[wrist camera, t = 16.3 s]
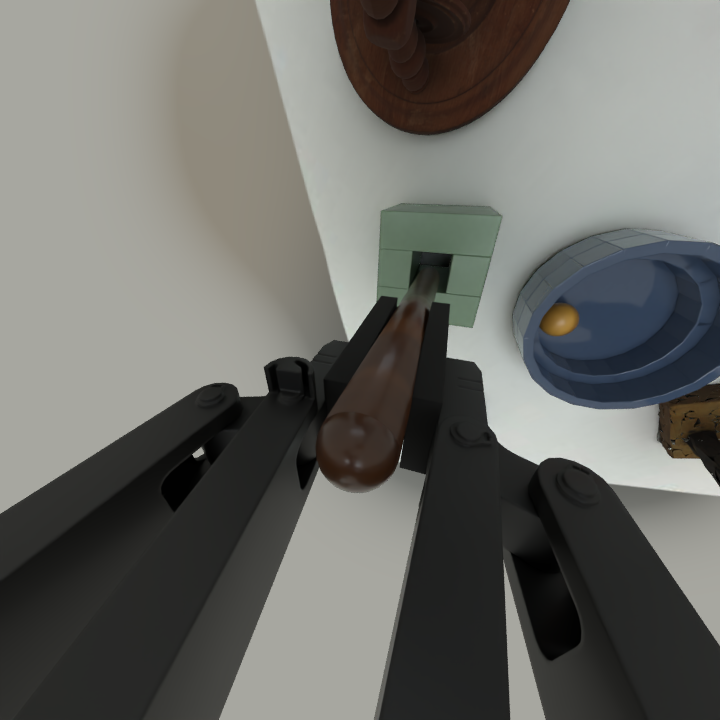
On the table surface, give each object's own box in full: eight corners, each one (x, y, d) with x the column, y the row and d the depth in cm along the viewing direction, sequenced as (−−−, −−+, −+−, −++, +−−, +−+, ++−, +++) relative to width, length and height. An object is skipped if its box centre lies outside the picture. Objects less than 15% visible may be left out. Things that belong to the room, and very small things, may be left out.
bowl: (541, 223, 23) (563, 234, 18) (751, 233, 20) (845, 249, 15) (495, 358, 30) (502, 391, 26) (641, 382, 27) (680, 424, 22)
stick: (421, 264, 21) (300, 430, 4) (442, 267, 21) (399, 461, 4) (416, 284, 22) (299, 495, 5) (437, 288, 21) (383, 525, 5)
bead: (534, 301, 25) (559, 298, 26) (527, 332, 26) (551, 329, 27) (566, 308, 22) (592, 305, 23) (556, 342, 23) (581, 338, 24)
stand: (400, 203, 25) (380, 210, 19) (491, 206, 23) (502, 215, 17) (393, 286, 29) (375, 315, 23) (469, 294, 28) (472, 328, 21)
